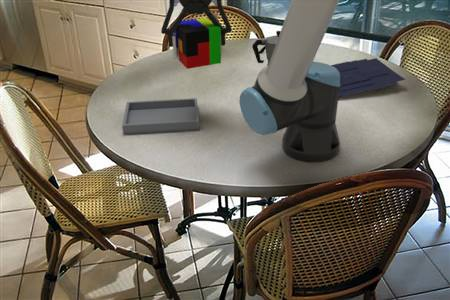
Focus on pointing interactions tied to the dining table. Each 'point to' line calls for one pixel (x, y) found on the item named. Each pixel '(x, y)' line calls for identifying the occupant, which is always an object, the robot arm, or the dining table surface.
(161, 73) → the dining table surface
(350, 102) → the dining table surface
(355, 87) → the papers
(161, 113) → the tray
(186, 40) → the puzzle toy
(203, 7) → the robot arm
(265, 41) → the coffeepot
